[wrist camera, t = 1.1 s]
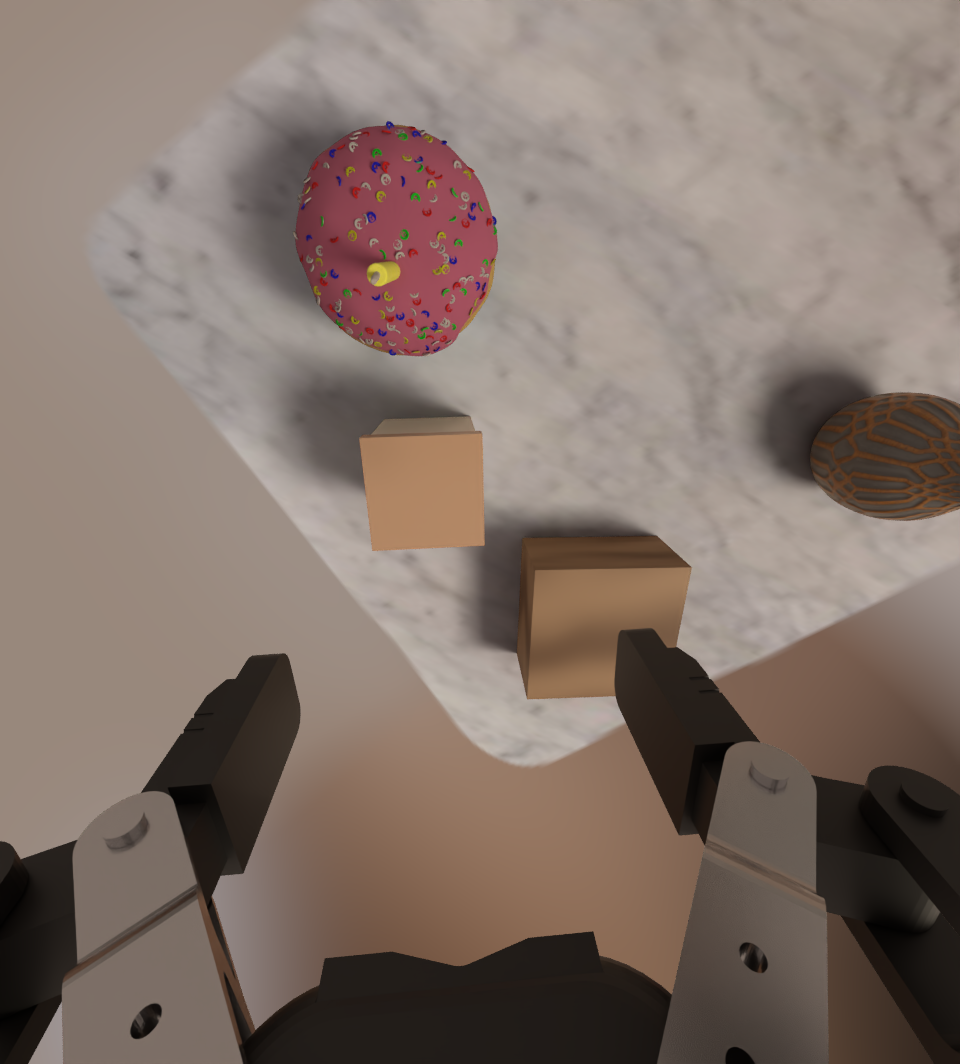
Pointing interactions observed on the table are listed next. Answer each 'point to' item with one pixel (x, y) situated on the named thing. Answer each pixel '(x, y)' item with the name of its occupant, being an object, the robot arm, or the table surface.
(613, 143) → the table surface
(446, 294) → the cupcake
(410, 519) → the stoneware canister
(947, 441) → the vase
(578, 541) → the brown wooden block
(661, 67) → the table surface
